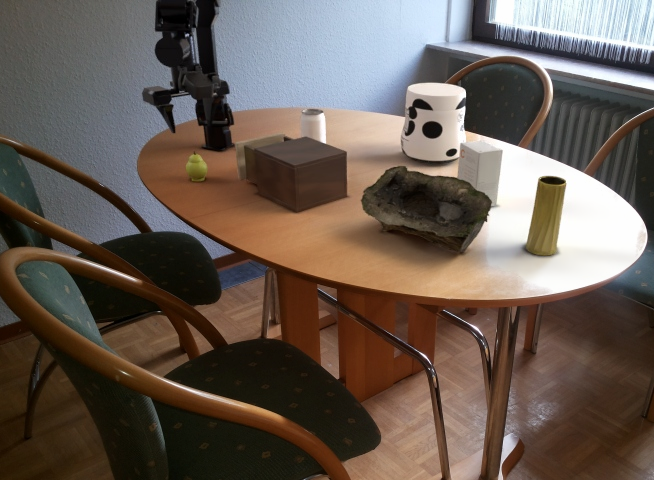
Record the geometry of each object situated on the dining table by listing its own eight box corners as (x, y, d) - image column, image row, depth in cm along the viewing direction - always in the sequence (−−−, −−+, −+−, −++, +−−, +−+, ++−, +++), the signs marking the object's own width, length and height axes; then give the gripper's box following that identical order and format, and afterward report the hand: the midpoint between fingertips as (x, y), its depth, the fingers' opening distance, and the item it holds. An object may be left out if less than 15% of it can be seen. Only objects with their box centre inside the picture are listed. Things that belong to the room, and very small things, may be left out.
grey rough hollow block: (482, 282, 125) (520, 216, 126) (458, 257, 114) (500, 185, 115) (377, 233, 140) (412, 175, 141) (348, 207, 129) (386, 144, 130)
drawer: (229, 174, 155) (225, 138, 151) (274, 163, 163) (272, 128, 159) (271, 195, 145) (269, 157, 140) (318, 181, 153) (317, 145, 149)
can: (328, 154, 174) (327, 109, 168) (323, 161, 168) (322, 115, 162) (304, 152, 174) (302, 107, 168) (299, 160, 169) (297, 114, 163)
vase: (521, 242, 130) (532, 174, 122) (551, 242, 130) (563, 174, 123) (529, 256, 125) (541, 186, 117) (560, 255, 125) (573, 186, 118)
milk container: (476, 158, 175) (483, 90, 165) (436, 172, 164) (441, 100, 154) (428, 143, 185) (432, 78, 175) (386, 156, 174) (388, 87, 164)
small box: (496, 205, 146) (503, 149, 139) (473, 209, 144) (479, 152, 137) (477, 193, 152) (483, 139, 145) (454, 197, 150) (459, 142, 143)
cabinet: (257, 193, 148) (253, 148, 142) (307, 179, 157) (306, 136, 151) (296, 212, 139) (294, 165, 134) (347, 196, 148) (347, 151, 143)
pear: (182, 181, 153) (178, 152, 149) (196, 174, 157) (192, 146, 153) (200, 184, 152) (196, 155, 148) (213, 178, 155) (209, 149, 152)
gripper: (161, 69, 130) (172, 145, 138) (240, 59, 141) (246, 130, 149) (135, 60, 136) (147, 133, 144) (212, 51, 148) (220, 120, 156)
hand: (192, 129), depth 148 cm, fingers open, 9 cm apart
